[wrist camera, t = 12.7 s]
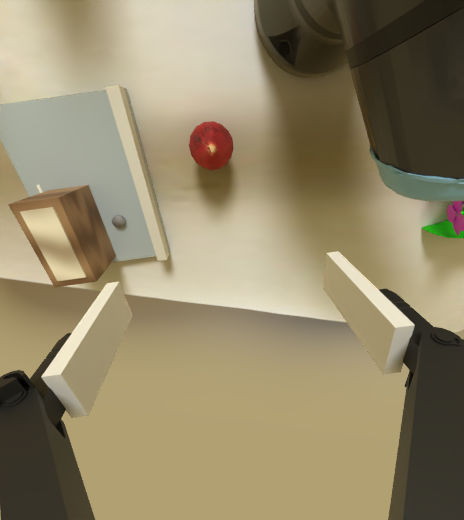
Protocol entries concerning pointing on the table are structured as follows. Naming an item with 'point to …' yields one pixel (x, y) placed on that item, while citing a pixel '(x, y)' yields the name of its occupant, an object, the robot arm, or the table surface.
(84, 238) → the frame
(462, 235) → the potted plant
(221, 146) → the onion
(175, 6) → the table surface
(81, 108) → the wall panel
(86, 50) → the table surface
